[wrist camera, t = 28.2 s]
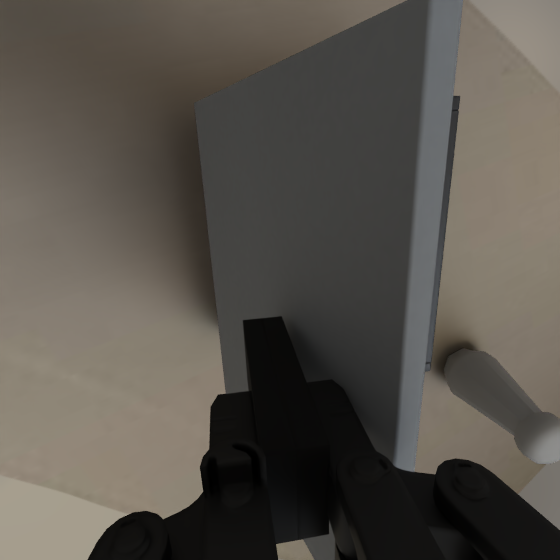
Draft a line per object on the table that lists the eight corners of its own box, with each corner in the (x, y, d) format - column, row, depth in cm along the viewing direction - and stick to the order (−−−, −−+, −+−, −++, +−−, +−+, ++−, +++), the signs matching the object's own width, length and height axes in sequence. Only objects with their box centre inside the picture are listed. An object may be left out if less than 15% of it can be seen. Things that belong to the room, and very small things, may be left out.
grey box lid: (466, -10, 6) (432, -15, 6) (395, 660, 13) (377, 674, 13) (207, 102, 20) (193, 102, 20) (237, 399, 27) (226, 403, 27)
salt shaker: (430, 384, 43) (513, 476, 31) (445, 339, 41) (538, 419, 29) (474, 386, 44) (571, 476, 32) (490, 343, 42) (599, 421, 30)
